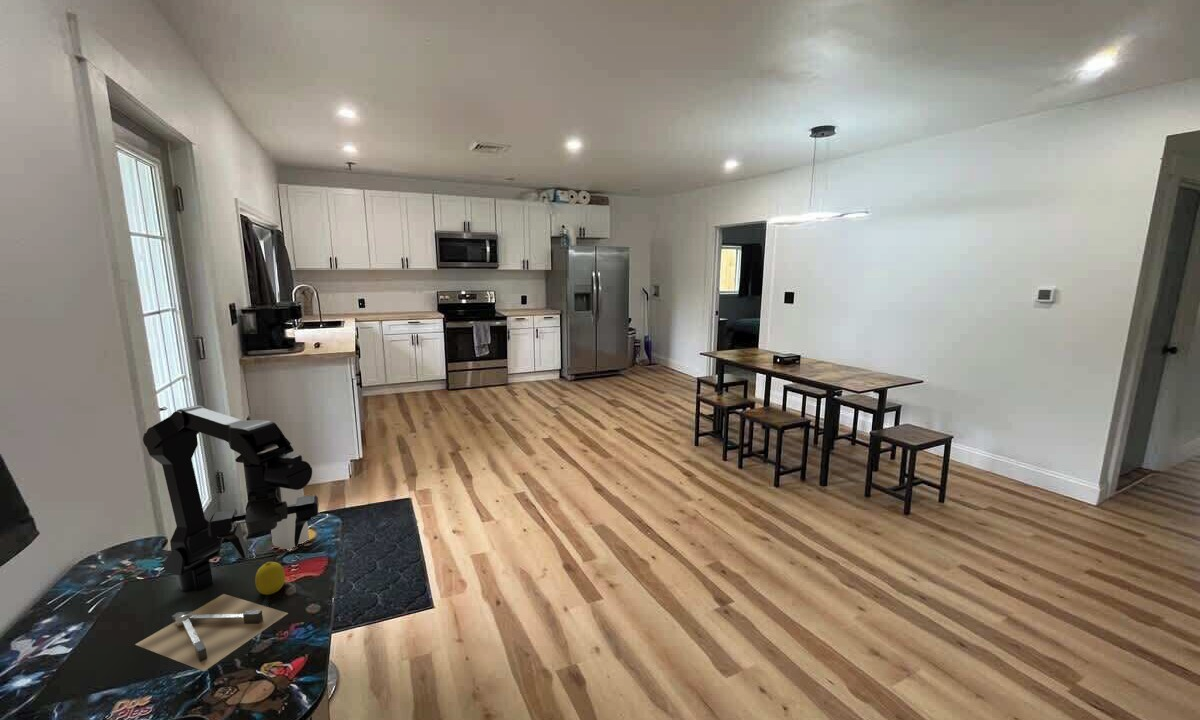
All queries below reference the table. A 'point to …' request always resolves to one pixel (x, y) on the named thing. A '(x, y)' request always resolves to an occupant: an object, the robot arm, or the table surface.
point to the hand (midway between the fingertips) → (270, 551)
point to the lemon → (269, 578)
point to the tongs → (188, 620)
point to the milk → (289, 522)
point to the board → (211, 633)
